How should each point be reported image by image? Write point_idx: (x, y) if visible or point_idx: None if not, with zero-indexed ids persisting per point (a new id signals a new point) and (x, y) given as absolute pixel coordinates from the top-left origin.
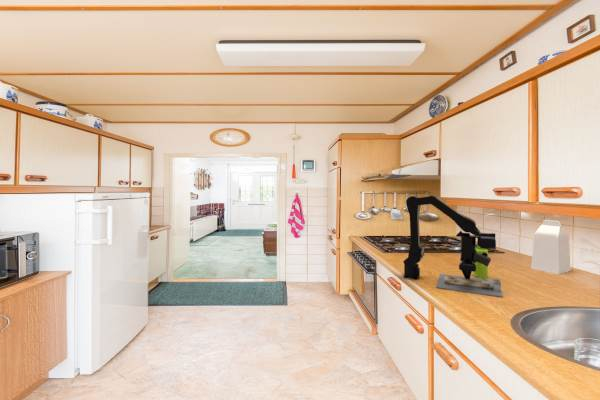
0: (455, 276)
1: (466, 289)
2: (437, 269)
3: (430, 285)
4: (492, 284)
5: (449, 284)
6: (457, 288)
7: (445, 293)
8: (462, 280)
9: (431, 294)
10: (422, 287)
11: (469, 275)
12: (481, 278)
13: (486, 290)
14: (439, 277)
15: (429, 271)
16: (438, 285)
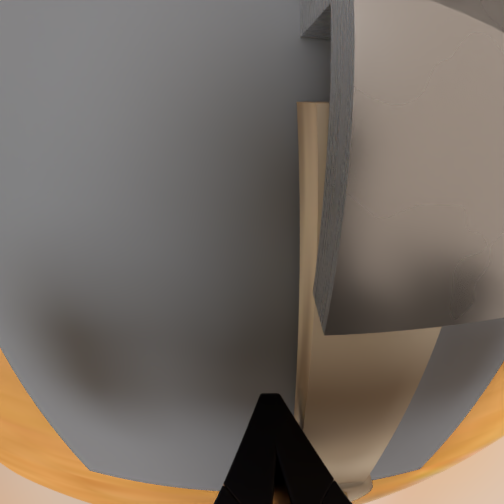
0: (67, 421)
1: (475, 359)
2: (4, 440)
3: (373, 483)
4: (106, 42)
5: None
6: (451, 407)
7: (500, 414)
8: (383, 450)
9: (500, 437)
10: (411, 483)
11: (328, 481)
12: (435, 324)
13: None
14: (187, 487)
15: (74, 478)
16: (393, 472)
